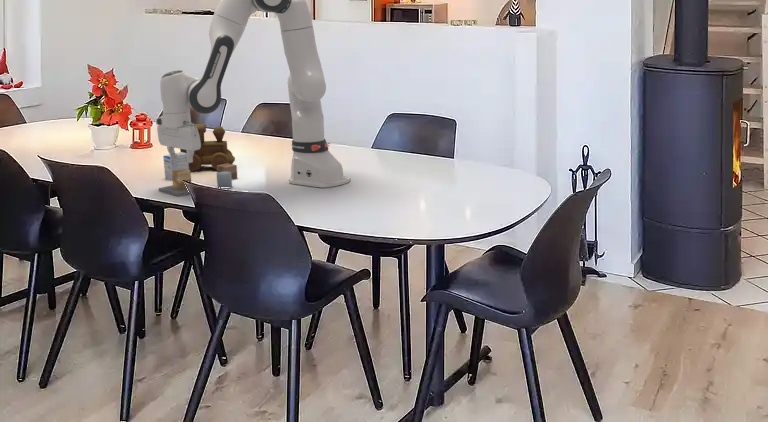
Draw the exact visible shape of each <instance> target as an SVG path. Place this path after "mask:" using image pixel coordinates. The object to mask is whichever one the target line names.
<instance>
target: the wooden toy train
mask: <svg viewBox="0 0 768 422" xmlns="http://www.w3.org/2000/svg"><path fill="white" fill-rule="evenodd" d="M194 125H195V126H196V128H197V130H198V132H199V136H200V142H201V148H200V149H199V150H195V151H194V155H193V162H192V163H189V170H190V172H192V173H193V172H198V171H199V170H200V169H201V167H202V166H209V165H210V166H211V167H212V168H213V169H214V170H216V171H217V165H222V164H227V163H229V164H234V163H235V162H236V157H235V156H234V155H233V153H232V151H231V150H230V149H229V148H228V140H223V138H224V136H225V133H226V130H225V129H224V128H223V126H222V125H220V126H218V125H217V126H215V127H214V129H213V131H212V133H213V134H212V135H214V137H215V140H205V133H206V132H207V125H206V124H205V123H194ZM179 150H180V151H179V152H183V153H187V152H186V150H184V149H179ZM187 154H188V153H187Z"/></svg>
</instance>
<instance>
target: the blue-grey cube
mask: <svg viewBox="0 0 768 422" xmlns="http://www.w3.org/2000/svg"><path fill="white" fill-rule="evenodd" d="M232 181H233V180H232V177H231V172H218V173H217V172H216V184H217V186H218V187H220V188H221V187H232V188H233V182H232Z"/></svg>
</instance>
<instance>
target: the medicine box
mask: <svg viewBox="0 0 768 422" xmlns="http://www.w3.org/2000/svg"><path fill="white" fill-rule="evenodd" d="M175 154H177V159H174V160H173V159H170V154H169V153H168V154H165V155H163V168H164V169H163V170H164V178H165V179H166V180H170V181H172V171H174V170H179V169H186V170H189V163H187V162H186V157H187V153H183V152H181V151H179V152H175Z"/></svg>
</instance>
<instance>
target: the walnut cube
mask: <svg viewBox="0 0 768 422" xmlns="http://www.w3.org/2000/svg"><path fill="white" fill-rule="evenodd" d="M237 166H238V165H237V164H234V163H233V164H229V163H227V164H222V165H217V170H216V174H217V173H218V172H231V177H232V179H233V180H237V179H238V167H237Z"/></svg>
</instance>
